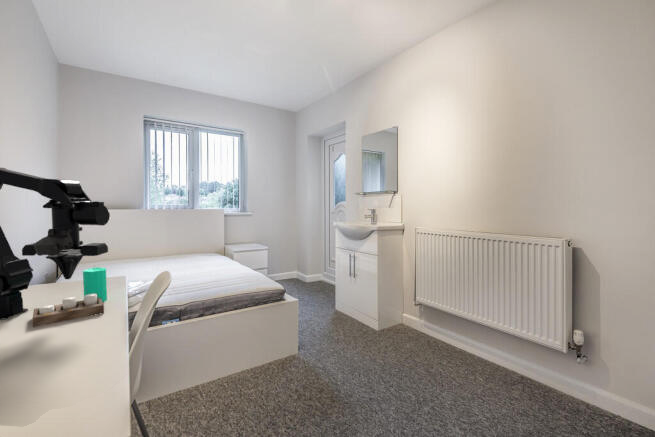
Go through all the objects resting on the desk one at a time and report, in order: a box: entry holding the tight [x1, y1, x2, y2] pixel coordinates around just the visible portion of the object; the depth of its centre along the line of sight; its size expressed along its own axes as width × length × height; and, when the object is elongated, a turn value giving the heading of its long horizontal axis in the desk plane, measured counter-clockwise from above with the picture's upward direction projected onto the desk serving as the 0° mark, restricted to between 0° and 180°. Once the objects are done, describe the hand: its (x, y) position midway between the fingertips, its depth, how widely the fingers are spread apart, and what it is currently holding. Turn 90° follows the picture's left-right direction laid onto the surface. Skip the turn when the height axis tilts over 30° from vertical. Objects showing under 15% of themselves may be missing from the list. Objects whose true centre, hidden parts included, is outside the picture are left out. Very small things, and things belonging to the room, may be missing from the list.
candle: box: [82, 264, 108, 303], centre depth 98 cm, size 6×6×12 cm
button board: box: [32, 298, 105, 328], centre depth 86 cm, size 15×8×3 cm, turn 132°
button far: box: [83, 294, 97, 306], centre depth 89 cm, size 3×3×3 cm
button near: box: [38, 304, 55, 314], centre depth 83 cm, size 3×3×3 cm
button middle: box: [62, 296, 77, 310], centre depth 86 cm, size 3×3×3 cm
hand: (67, 278), depth 86 cm, fingers closed
